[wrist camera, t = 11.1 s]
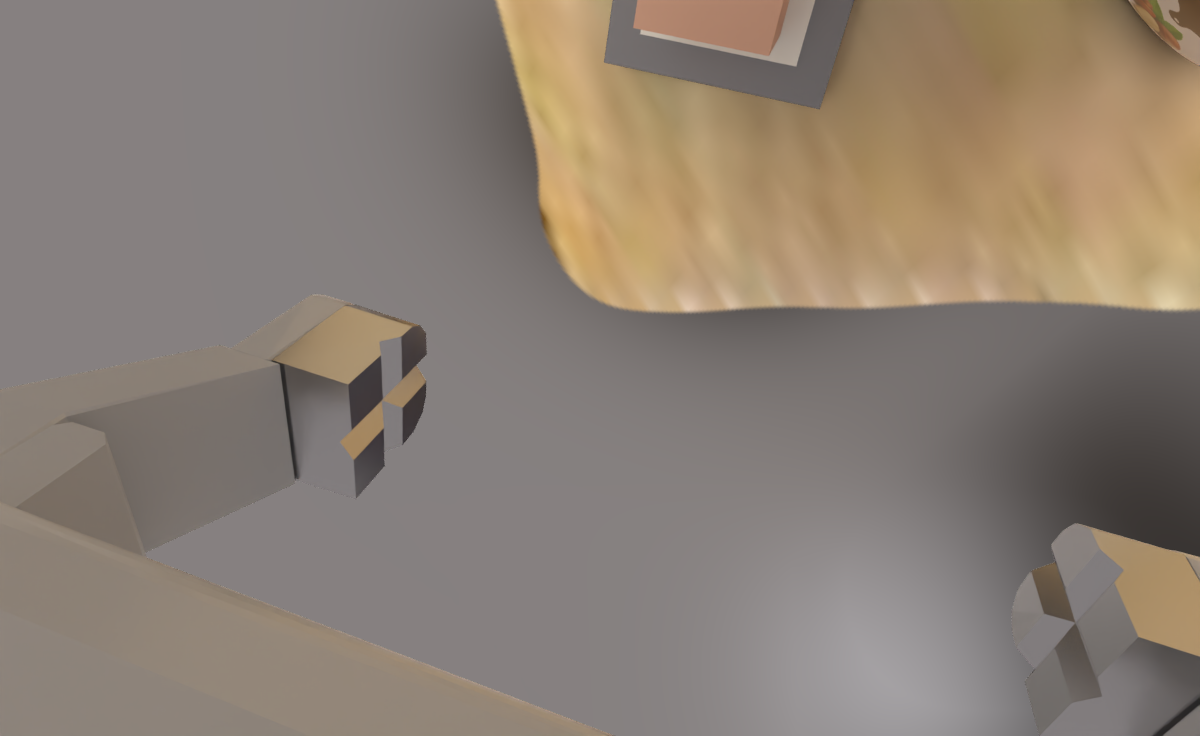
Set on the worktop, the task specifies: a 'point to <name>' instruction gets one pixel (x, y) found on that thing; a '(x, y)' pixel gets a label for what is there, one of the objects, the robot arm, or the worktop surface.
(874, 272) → the worktop surface
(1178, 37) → the spread jar
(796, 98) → the base
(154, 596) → the robot arm
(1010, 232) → the worktop surface
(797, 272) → the worktop surface
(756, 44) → the block
